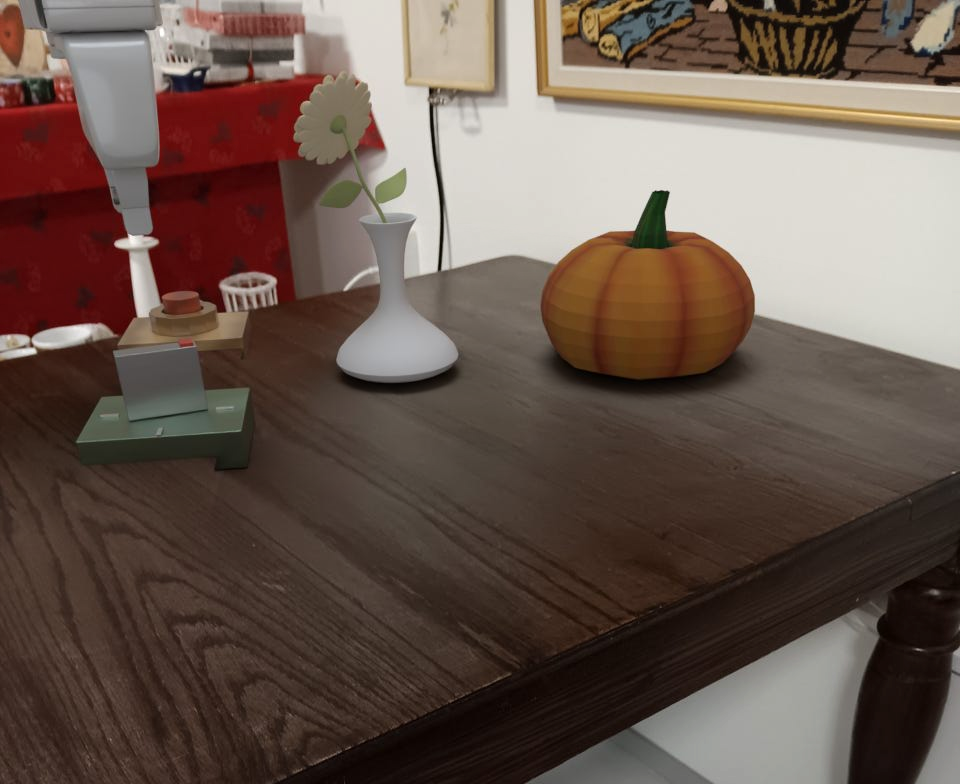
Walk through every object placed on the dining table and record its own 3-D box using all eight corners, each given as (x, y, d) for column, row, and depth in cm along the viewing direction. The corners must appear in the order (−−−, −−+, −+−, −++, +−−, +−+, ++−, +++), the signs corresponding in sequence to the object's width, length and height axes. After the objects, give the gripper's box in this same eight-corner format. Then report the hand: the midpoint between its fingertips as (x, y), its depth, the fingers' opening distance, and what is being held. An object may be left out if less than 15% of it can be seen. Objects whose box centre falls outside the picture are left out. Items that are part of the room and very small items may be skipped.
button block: (121, 367, 97) (112, 326, 95) (138, 338, 106) (129, 300, 104) (245, 359, 99) (239, 318, 96) (251, 331, 107) (246, 293, 105)
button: (162, 318, 99) (159, 300, 98) (167, 309, 102) (164, 292, 101) (199, 316, 99) (196, 298, 98) (203, 307, 102) (200, 290, 101)
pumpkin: (503, 374, 93) (500, 201, 85) (599, 324, 106) (605, 171, 98) (696, 410, 83) (714, 219, 75) (775, 350, 97) (798, 183, 89)
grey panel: (129, 421, 76) (113, 353, 73) (127, 414, 77) (111, 347, 74) (208, 409, 78) (196, 342, 75) (205, 403, 79) (193, 337, 76)
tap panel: (84, 480, 74) (74, 440, 72) (109, 431, 83) (100, 394, 81) (247, 468, 75) (240, 428, 74) (255, 421, 84) (249, 384, 82)
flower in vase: (430, 349, 100) (415, 63, 86) (479, 381, 91) (470, 68, 78) (306, 370, 95) (269, 71, 82) (344, 405, 87) (310, 77, 73)
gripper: (35, -1, 72) (80, 203, 80) (41, -4, 56) (97, 252, 64) (124, -3, 74) (160, 197, 82) (156, -6, 58) (197, 243, 66)
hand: (133, 222), depth 73 cm, fingers open, 8 cm apart
